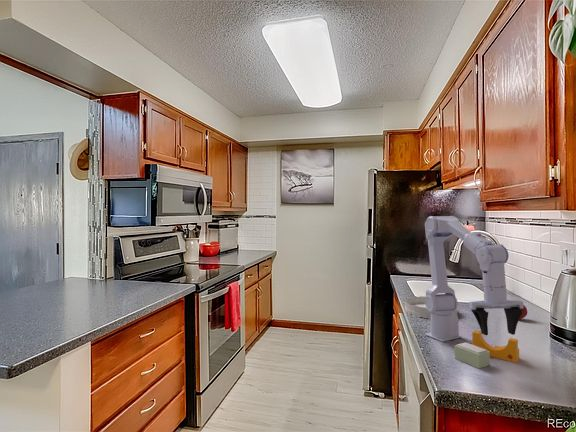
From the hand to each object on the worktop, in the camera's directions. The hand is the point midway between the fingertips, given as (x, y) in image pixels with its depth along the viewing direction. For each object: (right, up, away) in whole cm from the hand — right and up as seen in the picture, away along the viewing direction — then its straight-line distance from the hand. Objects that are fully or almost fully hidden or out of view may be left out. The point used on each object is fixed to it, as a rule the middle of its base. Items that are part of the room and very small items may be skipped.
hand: (498, 334), depth 100 cm
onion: (+36, -10, +45) cm, 59 cm away
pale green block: (-5, -10, +5) cm, 12 cm away
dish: (+4, -10, +58) cm, 59 cm away
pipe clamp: (+5, -10, +10) cm, 15 cm away
